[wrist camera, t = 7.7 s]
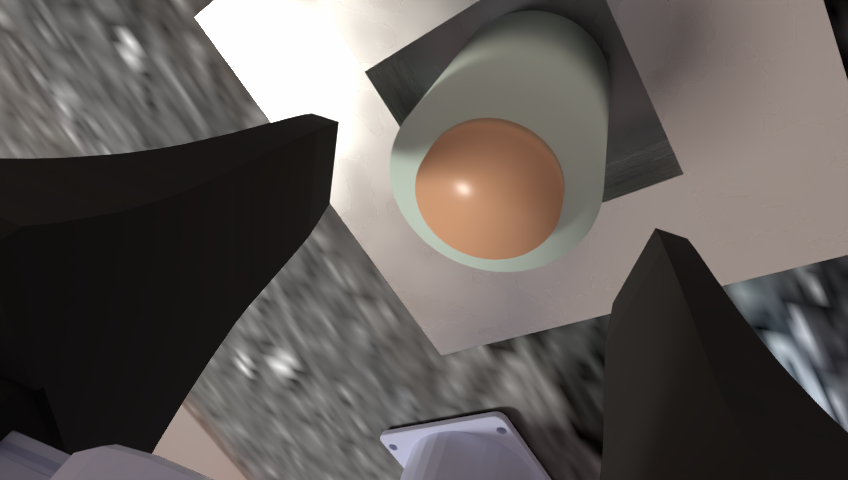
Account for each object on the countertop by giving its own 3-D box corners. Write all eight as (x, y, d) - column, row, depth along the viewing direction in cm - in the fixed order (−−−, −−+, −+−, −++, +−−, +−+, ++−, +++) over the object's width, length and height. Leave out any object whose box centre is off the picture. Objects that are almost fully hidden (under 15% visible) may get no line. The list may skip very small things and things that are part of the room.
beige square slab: (849, 170, 17) (896, 242, 14) (466, 290, 25) (441, 355, 21) (681, -353, 12) (696, -420, 9) (265, -11, 20) (194, 17, 17)
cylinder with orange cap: (566, 185, 19) (543, 316, 14) (433, 129, 19) (360, 237, 14) (642, 48, 16) (649, 149, 11) (483, -16, 16) (414, 52, 11)
